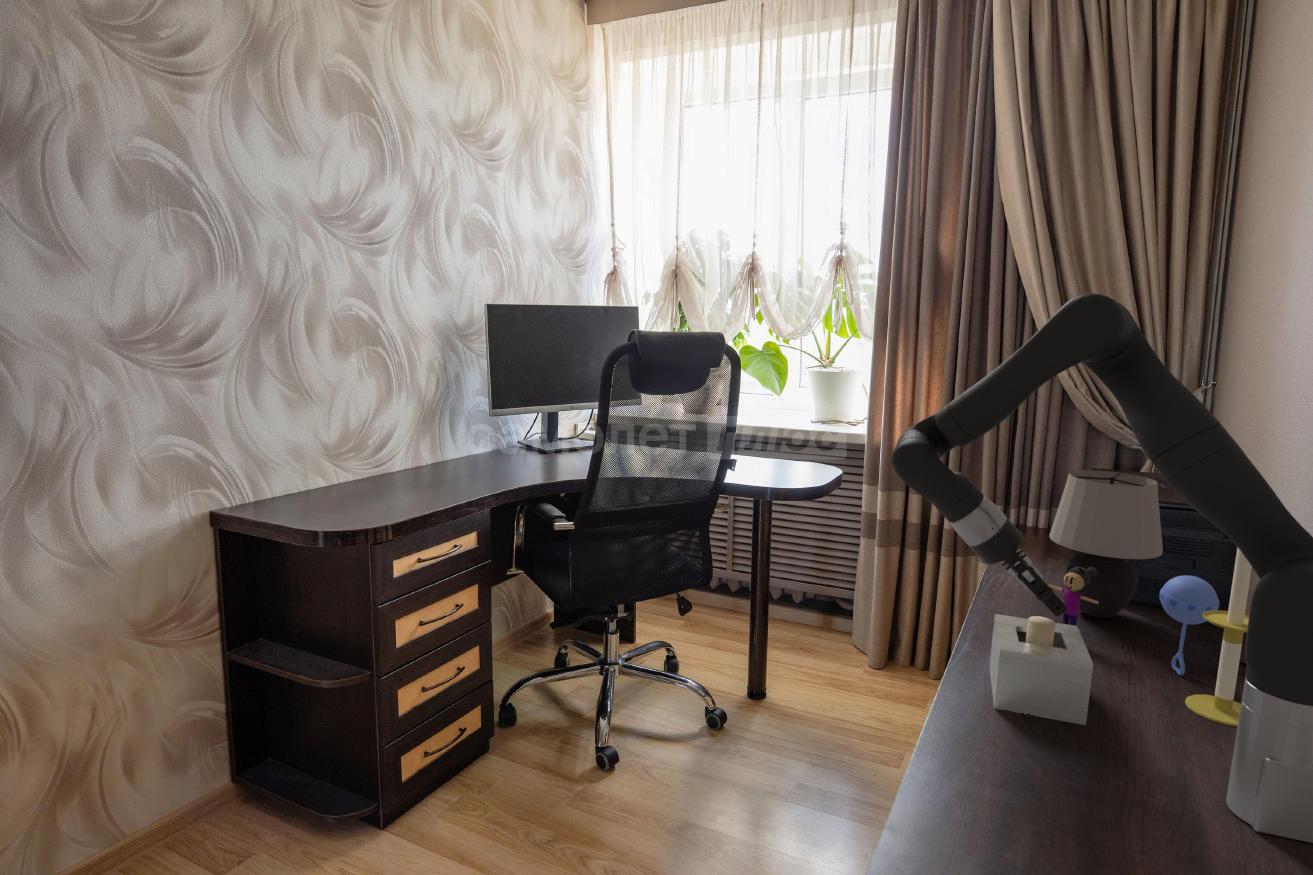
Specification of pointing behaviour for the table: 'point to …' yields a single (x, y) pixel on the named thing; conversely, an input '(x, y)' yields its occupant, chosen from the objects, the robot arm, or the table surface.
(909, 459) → the robot arm
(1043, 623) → the capsule
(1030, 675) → the white hollow block
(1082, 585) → the toy
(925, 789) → the table surface
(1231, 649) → the candle
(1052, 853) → the table surface
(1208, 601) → the baby rattle
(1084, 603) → the table lamp
